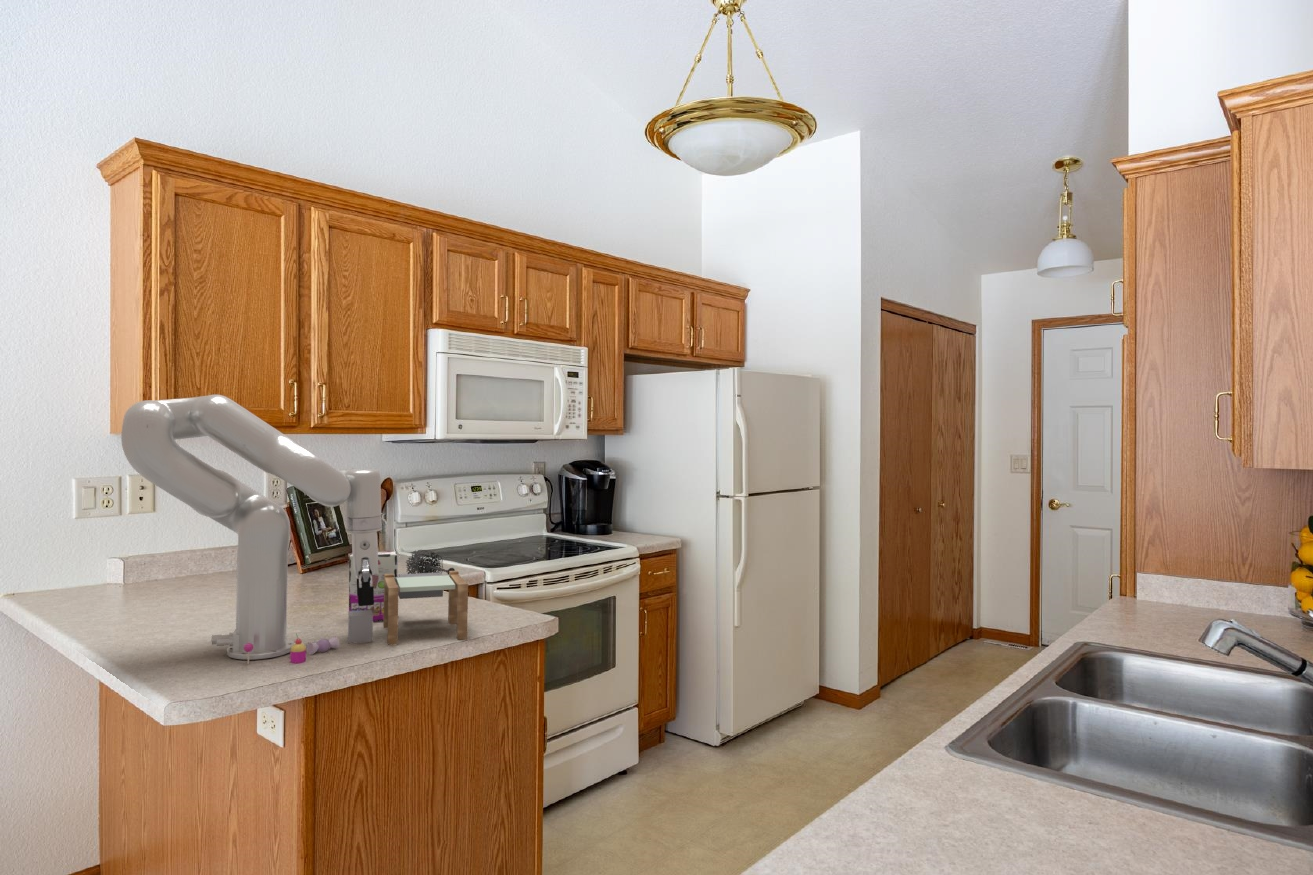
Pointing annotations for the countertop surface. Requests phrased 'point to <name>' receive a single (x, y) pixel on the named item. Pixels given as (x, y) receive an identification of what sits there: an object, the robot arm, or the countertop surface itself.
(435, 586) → the trapdoor
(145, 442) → the robot arm
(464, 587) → the frame
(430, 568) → the massage brush
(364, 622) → the light gray block
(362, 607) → the candy bar box
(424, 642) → the countertop surface
